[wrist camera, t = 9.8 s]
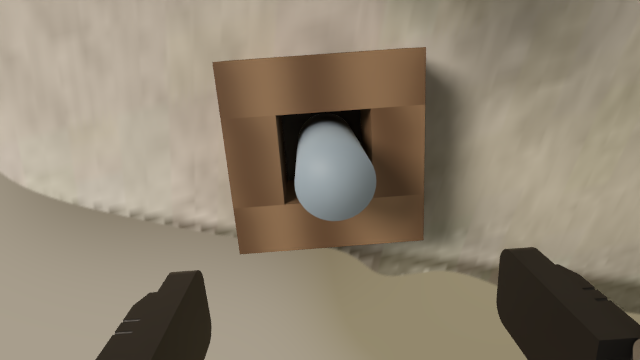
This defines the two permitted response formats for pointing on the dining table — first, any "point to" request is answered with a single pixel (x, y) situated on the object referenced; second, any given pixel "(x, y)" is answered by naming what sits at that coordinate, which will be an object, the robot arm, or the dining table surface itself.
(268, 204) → the socket block
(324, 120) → the peg
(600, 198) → the dining table surface
